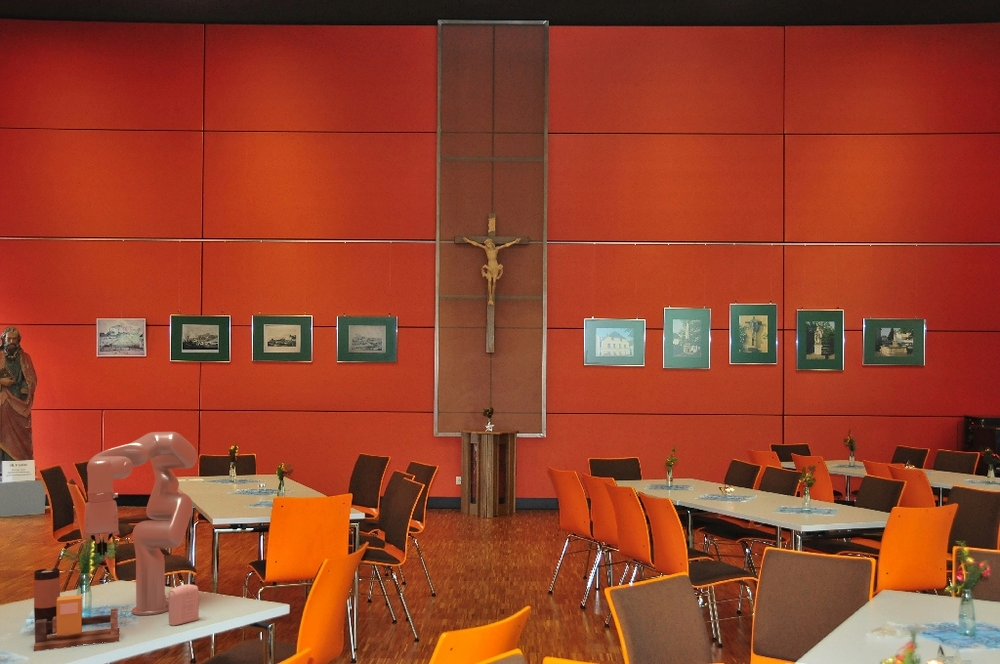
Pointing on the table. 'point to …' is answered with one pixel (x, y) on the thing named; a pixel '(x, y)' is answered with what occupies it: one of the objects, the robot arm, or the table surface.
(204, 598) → the table surface
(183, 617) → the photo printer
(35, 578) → the travel mug
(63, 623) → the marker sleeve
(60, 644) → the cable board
